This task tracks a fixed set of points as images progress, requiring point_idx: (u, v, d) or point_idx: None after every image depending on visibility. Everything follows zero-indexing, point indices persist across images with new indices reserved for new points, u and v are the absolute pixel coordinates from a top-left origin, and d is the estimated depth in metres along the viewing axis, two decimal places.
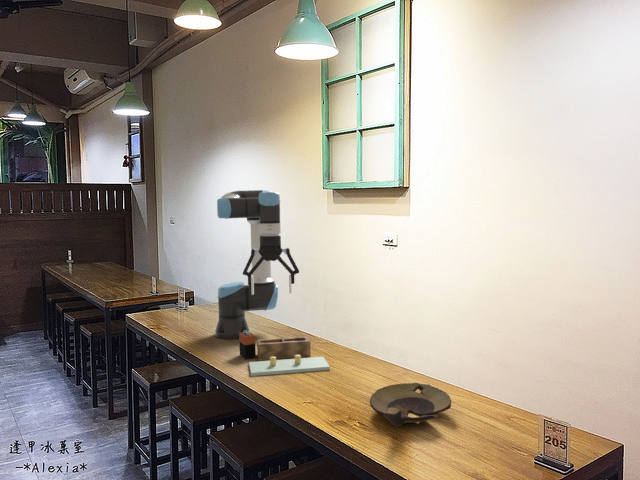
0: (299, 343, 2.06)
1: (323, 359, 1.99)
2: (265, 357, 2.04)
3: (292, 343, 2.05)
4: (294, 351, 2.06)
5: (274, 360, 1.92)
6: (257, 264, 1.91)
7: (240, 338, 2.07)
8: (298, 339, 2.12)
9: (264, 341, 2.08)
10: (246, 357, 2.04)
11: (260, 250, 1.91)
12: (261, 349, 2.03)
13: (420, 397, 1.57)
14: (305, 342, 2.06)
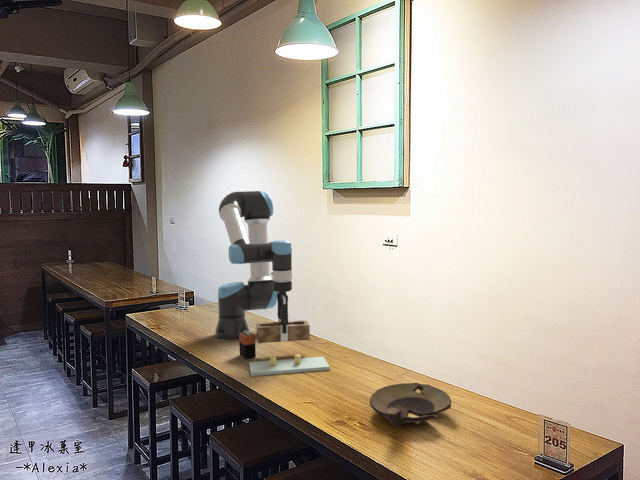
0: (298, 326, 2.06)
1: (323, 359, 1.99)
2: (264, 340, 2.04)
3: (291, 327, 2.05)
4: (293, 335, 2.06)
5: (274, 360, 1.92)
6: (278, 307, 2.10)
7: (240, 338, 2.07)
8: (298, 323, 2.12)
9: (263, 324, 2.08)
10: (246, 357, 2.04)
11: None
12: (260, 332, 2.03)
13: (420, 397, 1.57)
14: (304, 326, 2.06)
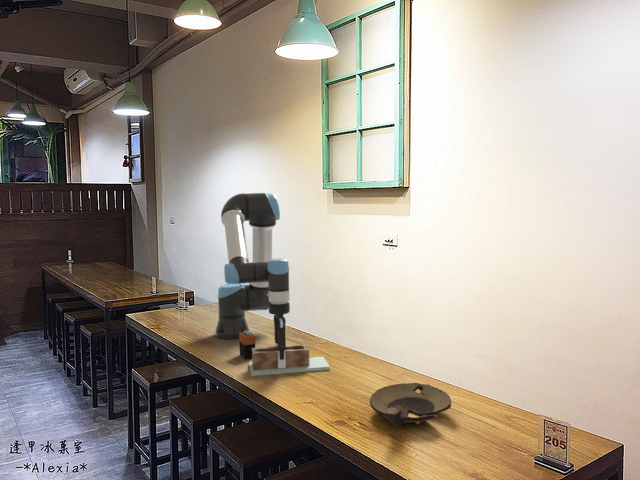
0: (297, 351, 1.90)
1: (323, 359, 1.99)
2: (260, 367, 1.88)
3: (289, 352, 1.90)
4: (292, 361, 1.90)
5: None
6: (275, 330, 1.95)
7: (240, 338, 2.07)
8: (296, 347, 1.96)
9: (259, 350, 1.93)
10: (246, 357, 2.04)
11: (275, 315, 1.95)
12: (256, 358, 1.88)
13: (420, 397, 1.57)
14: (303, 351, 1.91)
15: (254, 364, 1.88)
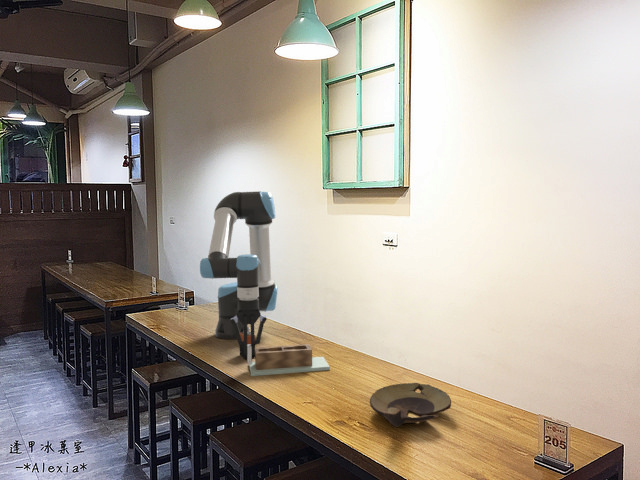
0: (299, 351, 1.90)
1: (323, 359, 1.99)
2: (263, 367, 1.89)
3: (292, 352, 1.90)
4: (295, 360, 1.90)
5: None
6: (245, 331, 1.89)
7: None
8: (299, 347, 1.96)
9: (262, 349, 1.93)
10: (246, 357, 2.04)
11: (238, 315, 1.88)
12: (259, 358, 1.88)
13: (420, 397, 1.57)
14: (306, 351, 1.91)
15: (257, 364, 1.88)
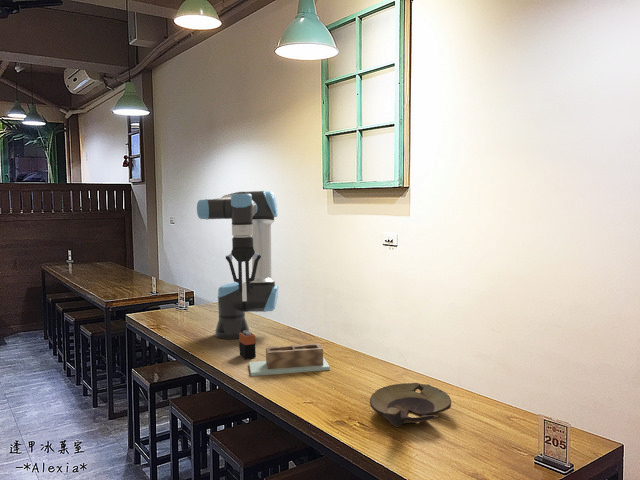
0: (311, 351, 1.91)
1: (323, 359, 1.99)
2: (274, 366, 1.89)
3: (304, 351, 1.91)
4: (306, 360, 1.91)
5: None
6: (239, 268, 1.93)
7: (240, 338, 2.07)
8: (310, 347, 1.97)
9: (273, 349, 1.94)
10: (246, 357, 2.04)
11: (232, 252, 1.92)
12: (270, 358, 1.89)
13: (420, 397, 1.57)
14: (317, 350, 1.92)
15: (268, 363, 1.89)
